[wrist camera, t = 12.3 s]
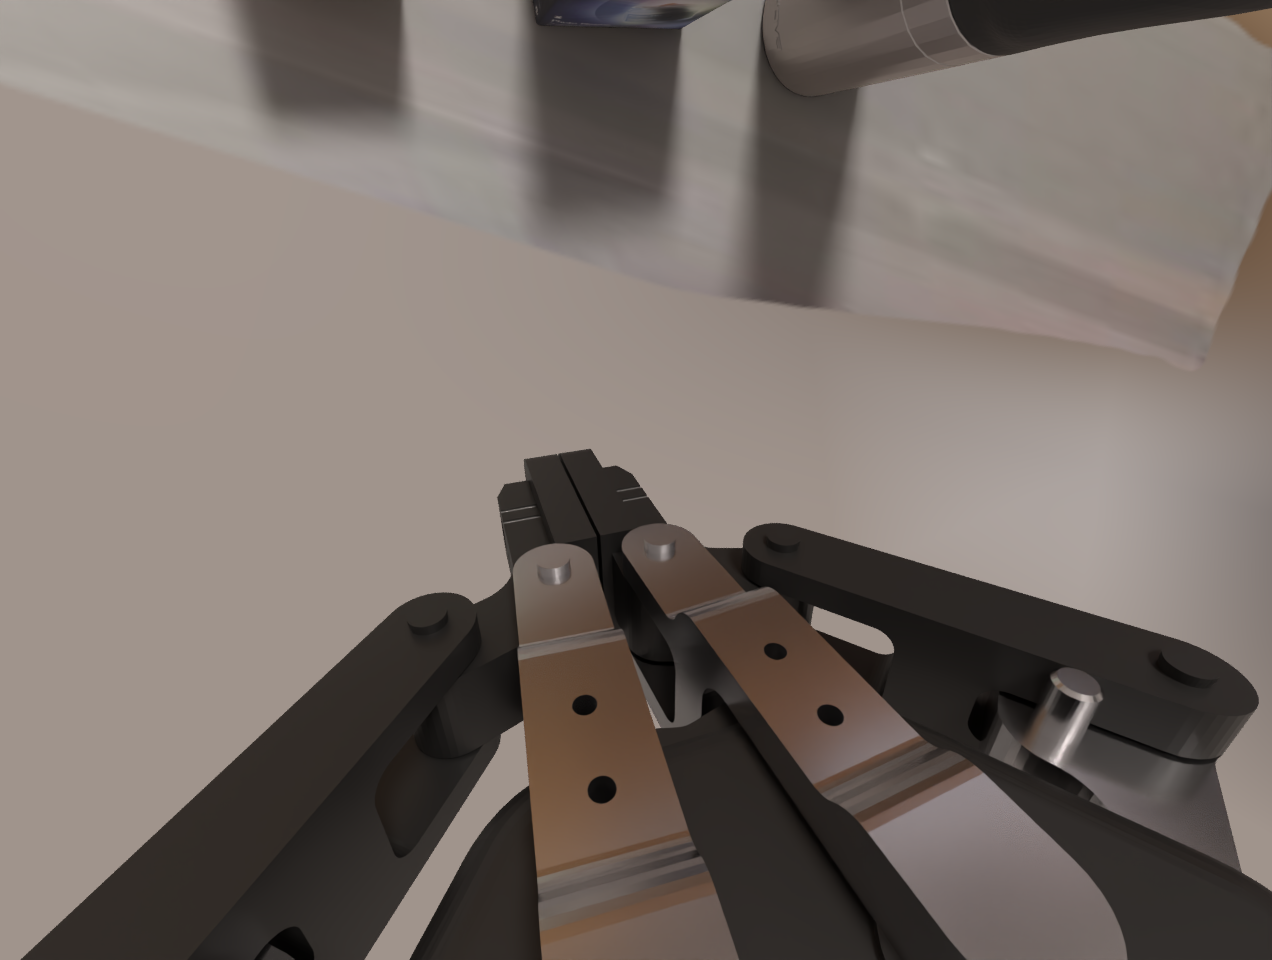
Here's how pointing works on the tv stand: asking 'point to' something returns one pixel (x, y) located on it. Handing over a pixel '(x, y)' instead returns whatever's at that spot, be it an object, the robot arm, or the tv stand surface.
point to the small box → (623, 12)
